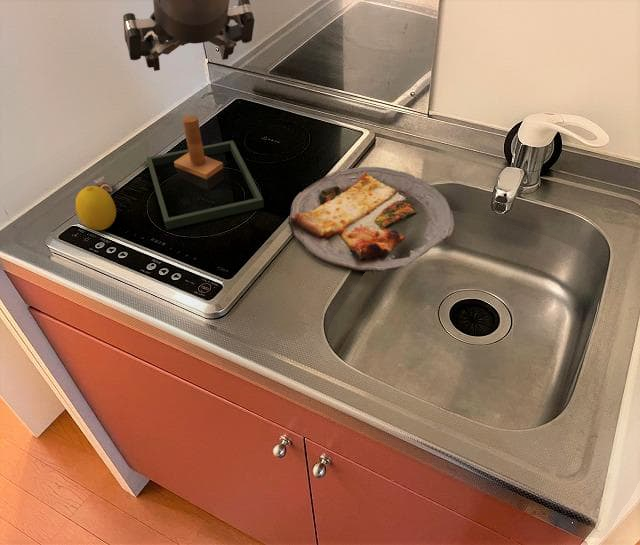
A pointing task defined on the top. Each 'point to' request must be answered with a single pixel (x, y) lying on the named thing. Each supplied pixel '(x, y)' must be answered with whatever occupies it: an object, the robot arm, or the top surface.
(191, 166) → the brush
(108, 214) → the lemon
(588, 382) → the top surface
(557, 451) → the top surface
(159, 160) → the green rectangular frame
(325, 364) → the top surface
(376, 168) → the food plate
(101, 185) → the pale curved piece
